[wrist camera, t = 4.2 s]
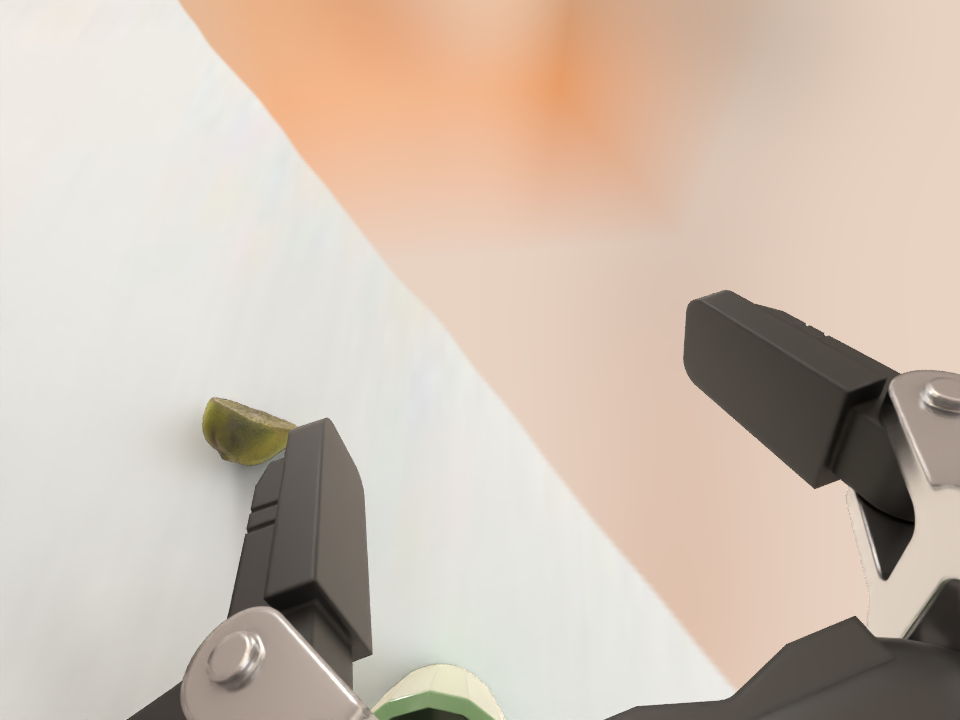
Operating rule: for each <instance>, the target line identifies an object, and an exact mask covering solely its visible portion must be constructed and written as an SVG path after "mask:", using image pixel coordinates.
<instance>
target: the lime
mask: <svg viewBox="0 0 960 720" xmlns="http://www.w3.org/2000/svg"><path fill="white" fill-rule="evenodd" d="M202 428H203V434H204V436H205V439H206V440H207V442H208V443H209V444H210V445H211V446H212V447H213V448H214V449H216V450H217V451H218V452H219V454H220V456H221V458H222V459H224V460H226V461H230V462H235V463H239V464H243V465H257V464H261V463H263V462H266V461H268V460H270V459H271V458H272V457H274V456H275V455H276V454H278V453H279V452H281V451H282V450H284V449H285V448H286V445H287V439H288V433H289V431H290V430H291V429H294V428H297V426H296V425H295V424H292V423H290V422H288V421H286V420H283V419H279V418H277V417H275V416H272V415H270V414H268V413H266V412H263V411H260V410H256V409H253V408H249V407H248V406H245V405H242V404H240V403H238V402H233V401H231V400H227V399H221V398H214V397H213V398H211V399H210V401H209V402H208V404H207V407H206V410H205V413H204V416H203V423H202Z"/></svg>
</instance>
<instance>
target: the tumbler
mask: <svg viewBox="0 0 960 720" xmlns="http://www.w3.org/2000/svg"><path fill="white" fill-rule="evenodd" d="M370 711H371V712H372V713H373V714H374V715H375V716H376V717H377V718H378V719H379V720H506V719H505V717H504V715H503V713H502V711H501V709H500V707H499V706H498V704H497V702H496V700H495V698H494V697H493V695H492V694H491V692H490V690H489V688H488V687H487V686H486V685H485V684H484V683H483V682H482V681H481V680H480V679H479V678H477V677H476V676H475V675H473V674H472V673H470V672H469V671H467V670H465V669H463V668H461V667H457V666H454V665H449V664H434V665H428V666H425V667H422V668H419V669H417V670H414V671H412V672H411V673H410V674H408V675H407V676H406V677H404V678H403V679H402V680H401V681H400V682H398V683H397V684H396V685H395V686H393V687H392V688H391V689H390V690H389V691H388V692H387V693H386V694H385V695H384V696H383V697H382V698H381V700H380V701H379V702H378V703H377V704H376V705H375V706H374V707H373V708H372V709H371V710H370Z"/></svg>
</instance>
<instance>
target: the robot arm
mask: <svg viewBox="0 0 960 720" xmlns="http://www.w3.org/2000/svg"><path fill="white" fill-rule="evenodd" d="M683 360H684V366H685V369H686V371H687V374H688V376H689V378H690V379H691V381H693V383H694V384H695V385H696V386H697V387H698V388H699V389H701V390H702V391H703V392H704V393H705V394H706V395H707V396H709V397H710V398H711V399H712V400H713V401H714V402H716V403H717V404H718V405H719V406H720V407H721V408H722V409H723V410H725V411H726V412H727V413H728V414H729V415H730V416H732V417H733V418H734V419H735V420H736V421H737V422H738V423H740V424H741V425H742V426H743V427H744V428H745V429H746V430H748V431H749V432H750V433H751V434H752V435H753V436H754V437H756V438H757V439H758V440H759V441H760V442H761V443H762V444H764V445H765V446H766V447H767V448H768V449H770V450H771V451H772V452H773V453H774V454H775V455H776V456H777V457H778V458H780V459H781V460H782V461H783V462H784V463H785V464H786V465H788V466H789V467H790V468H792V470H793V471H795V472H796V473H797V474H798V475H799V476H800V477H801V478H803V479H804V480H805V481H806V482H807V483H808V484H809V485H811V486H812V487H813V488H814V489H816V488H819V487H821V486H824V485H827V484H829V483H832V482H835V481H837V480H840V479H841V480H842V481H843V482H844V483H846V484H847V485H848V486H849V488H848V490H847V493H846V503H847V506H848V511H849V515H850V519H851V523H852V527H853V531H854V535H855V539H856V543H857V547H858V551H859V555H860V559H861V564H862V568H863V572H864V575H865V579H866V584H867V588H868V596H869V607H868V608H869V609H868V615H867V626H865V625H864V624H863V623H862V622H861V621H860V620H859V619H858V618H857V617H856V616H854V617H851V618H849V619H846V620H844V621H841V622H839V623H837V624H834V625H832V626H829V627H827V628H824V629H822V630H820V631H817V632H815V633H812V634H810V635H808V636H805V637H803V638H800V639H798V640H796V641H793V642H791V643H788V644H786V645H785V646H784V647H783V648H782V649H781V650H780V651H779V652H778V653H777V654H776V655H775V656H774V657H773V658H772V659H771V660H770V661H769V662H768V663H766V664H765V665H764V667H762V669H760V670H759V671H758V672H757V673H756V674H755V675H754V676H753V677H752V678H751V679H750V680H749V681H748V682H747V683H746V684H745V685H744V686H743V687H742V688H740V689H739V690H738V691H737V692H736V693H735V694H734V695H733V696H731V697H730V698H727V699H725V700H720V701H707V702H692V703H678V704H663V705H649V706H636V707H634V708H631V709H629V710H627V711H624V712H622V713H619V714H617V715H614V716H612V717H610V718H607V719H605V720H960V374H956V373H951V372H945V371H936V370H917V371H910V372H906V373H903V374H900V373H898V372H896V371H894V370H892V369H891V368H889V367H887V366H885V365H883V364H881V363H879V362H878V361H876V360H874V359H872V358H870V357H868V356H866V355H864V354H863V353H861V352H859V351H857V350H855V349H853V348H851V347H849V346H847V345H846V344H844V343H842V342H840V341H838V340H836V339H834V338H832V337H831V336H825V335H824V333H823V332H821V331H819V330H817V329H815V328H813V327H812V326H806V324H805V323H804V322H802V321H800V320H799V319H797V318H795V317H793V316H791V315H789V314H787V313H785V312H783V311H780V310H776V309H772V308H769V307H765V306H761V305H758V304H754V303H752V302H750V301H748V300H747V299H745V298H743V297H741V296H739V295H737V294H736V293H734V292H732V291H729V290H724V291H720V292H717V293H714V294H711V295H708V296H705V297H701V298H699V299H695V300H693V301H691V302H690V303H689V304H688V307H687V311H686V326H685V340H684V356H683ZM251 511H252V513H251V514H250V515H249V519H248V524H247V532H248V533H247V534H245V538H244V543H243V548H242V552H241V557H240V562H239V566H238V571H237V576H236V580H235V585H234V590H233V595H232V599H231V604H230V609H229V613H228V617H227V620H225V621H224V622H222V623H221V624H220V625H219V626H218V627H217V628H215V629H214V630H213V631H212V632H211V633H210V634H209V636H208V637H207V638H206V639H205V640H204V641H203V643H202V644H201V645H200V646H199V648H198V649H197V651H196V652H195V654H194V655H193V657H192V659H191V661H190V663H189V665H188V667H187V669H186V672H185V675H184V677H183V681H181V682H180V683H179V684H177V685H176V686H175V687H173V688H172V689H171V690H169V691H168V692H166V693H165V694H163V695H162V696H160V697H159V698H157V699H156V700H155V701H153V702H152V703H150V704H149V705H147V706H146V707H144V708H143V709H142V710H140V711H139V712H137V713H136V714H134V715H133V716H131V717H130V718H129V719H127V720H379V719H378V718H377V717H376V716H375V715H374V714H373V713H372V712H371V711H370V710H369V708H368V707H367V706H366V705H365V704H364V703H363V702H362V701H361V700H360V699H359V698H358V696H357V695H356V694H355V693H354V692H353V673H352V662H354V661H357V660H359V659H362V658H364V657H367V656H370V655H372V635H371V615H370V596H369V576H368V557H367V538H366V518H365V499H364V490H363V485H362V481H361V478H360V475H359V472H358V470H357V468H356V466H355V464H354V462H353V460H352V458H351V456H350V454H349V452H348V451H347V449H346V447H345V445H344V443H343V441H342V439H341V437H340V435H339V434H338V432H337V430H336V428H335V426H334V424H333V423H332V421H331V420H330V419H329V418H324V419H321V420H318V421H315V422H312V423H309V424H306V425H303V426H300V427H297V428H294V429H291V430H290V431H289V433H288V439H287V445H286V452H285V458H283V459H280V460H277V461H274V462H271V463H270V464H269V466H268V467H267V469H266V470H265V472H264V474H263V475H262V477H261V478H260V480H259V481H258V483H257V485H256V487H255V491H254V496H253V501H252V505H251Z"/></svg>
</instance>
